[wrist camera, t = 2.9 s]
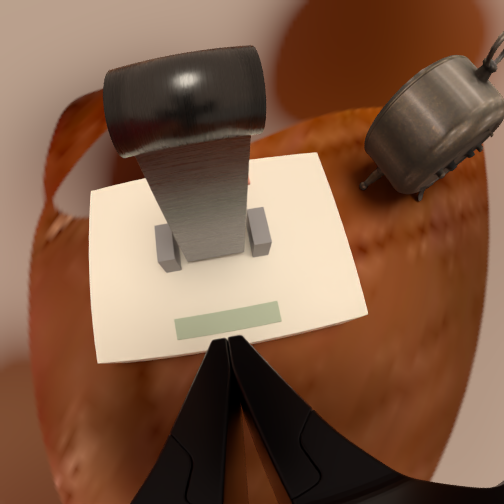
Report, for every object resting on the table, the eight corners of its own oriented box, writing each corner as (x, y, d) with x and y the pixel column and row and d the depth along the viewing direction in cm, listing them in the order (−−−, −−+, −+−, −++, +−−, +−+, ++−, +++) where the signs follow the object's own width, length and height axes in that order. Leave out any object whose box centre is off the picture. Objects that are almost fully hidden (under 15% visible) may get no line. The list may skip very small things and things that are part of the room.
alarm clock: (419, 138, 24) (500, 10, 9) (454, 183, 23) (559, 66, 7) (337, 177, 22) (427, -17, 7) (380, 235, 20) (531, 67, 5)
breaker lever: (249, 259, 15) (269, 81, 5) (184, 270, 14) (97, 112, 5) (241, 218, 15) (247, 29, 6) (179, 229, 15) (111, 53, 5)
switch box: (343, 323, 18) (383, 308, 13) (124, 362, 17) (81, 363, 11) (304, 185, 21) (323, 133, 16) (113, 218, 20) (79, 175, 14)
